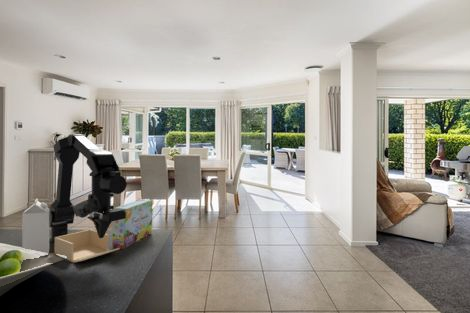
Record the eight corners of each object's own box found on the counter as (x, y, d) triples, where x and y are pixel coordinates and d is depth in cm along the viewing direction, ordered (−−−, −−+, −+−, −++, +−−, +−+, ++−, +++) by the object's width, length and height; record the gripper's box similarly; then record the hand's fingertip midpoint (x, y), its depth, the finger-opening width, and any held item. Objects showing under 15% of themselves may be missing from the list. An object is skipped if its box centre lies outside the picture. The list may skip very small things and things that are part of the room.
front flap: (73, 261, 98) (82, 258, 94) (109, 250, 108) (119, 247, 105) (73, 263, 97) (83, 260, 94) (109, 251, 108) (119, 249, 105)
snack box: (125, 249, 111) (125, 208, 110) (111, 248, 112) (111, 207, 111) (152, 233, 132) (152, 198, 131) (140, 232, 133) (141, 198, 132)
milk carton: (22, 259, 99) (22, 202, 99) (25, 252, 106) (25, 198, 105) (47, 256, 103) (47, 200, 102) (49, 249, 109) (49, 197, 108)
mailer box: (54, 254, 104) (54, 237, 104) (90, 244, 115) (90, 229, 115) (71, 262, 98) (71, 243, 98) (108, 251, 109) (108, 234, 109)
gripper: (61, 190, 98) (61, 238, 98) (94, 196, 87) (94, 250, 88) (93, 187, 107) (93, 231, 108) (127, 192, 97) (127, 240, 97)
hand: (101, 237), depth 100 cm, fingers closed
